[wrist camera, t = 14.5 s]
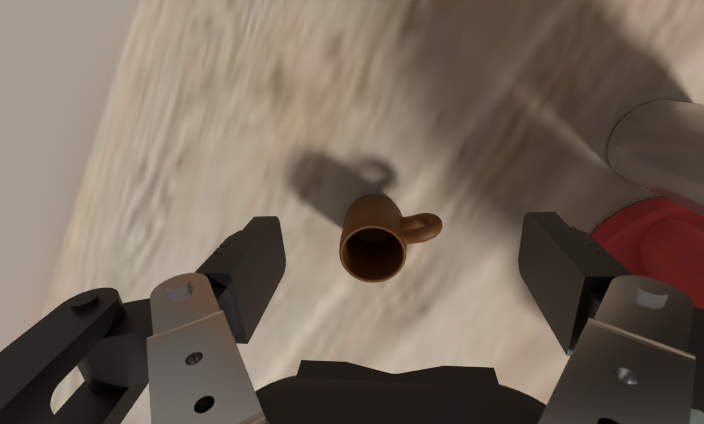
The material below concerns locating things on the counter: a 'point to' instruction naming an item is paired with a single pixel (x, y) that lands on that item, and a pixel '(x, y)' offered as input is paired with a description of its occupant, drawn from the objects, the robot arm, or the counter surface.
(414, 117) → the counter surface
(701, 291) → the stand mixer
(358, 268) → the mug
